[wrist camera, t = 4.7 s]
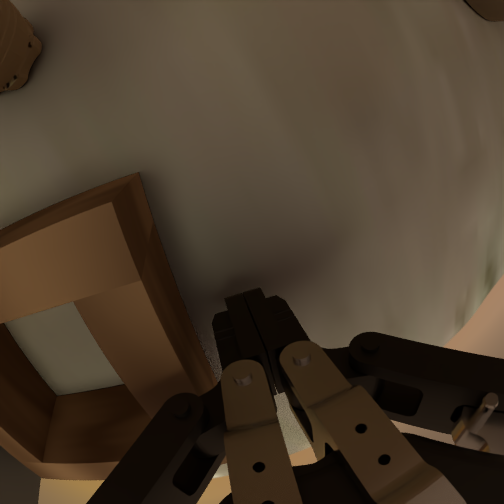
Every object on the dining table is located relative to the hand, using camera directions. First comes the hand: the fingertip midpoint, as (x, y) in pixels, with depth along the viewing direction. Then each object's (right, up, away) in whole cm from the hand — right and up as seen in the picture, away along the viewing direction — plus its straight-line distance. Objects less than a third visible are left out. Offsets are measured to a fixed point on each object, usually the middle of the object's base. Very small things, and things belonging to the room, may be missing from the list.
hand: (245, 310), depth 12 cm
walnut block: (-8, -2, 0) cm, 9 cm away
